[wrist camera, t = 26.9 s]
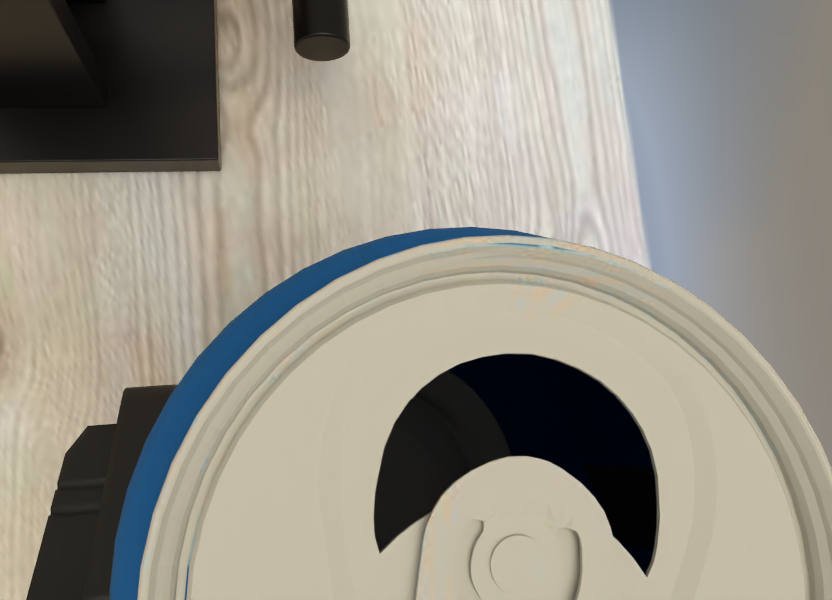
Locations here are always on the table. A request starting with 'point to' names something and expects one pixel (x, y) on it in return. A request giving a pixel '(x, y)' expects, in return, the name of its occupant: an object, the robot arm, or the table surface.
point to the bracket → (109, 86)
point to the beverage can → (475, 439)
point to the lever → (321, 29)
